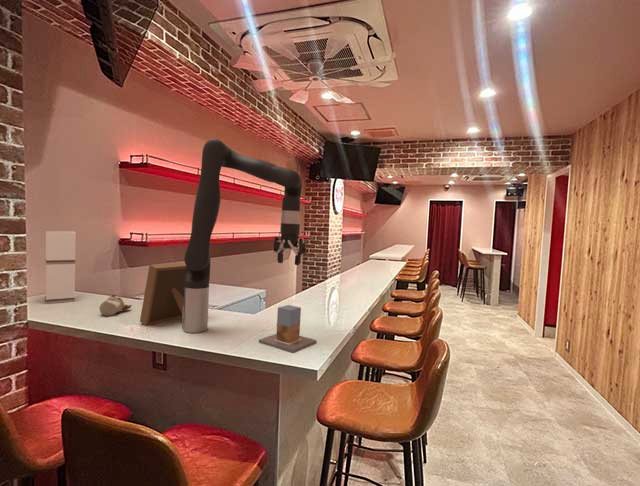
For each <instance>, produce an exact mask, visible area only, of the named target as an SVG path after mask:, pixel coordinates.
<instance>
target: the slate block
mask: <svg viewBox="0 0 640 486" xmlns="http://www.w3.org/2000/svg"><path fill="white" fill-rule="evenodd" d="M301 312H302V309H301V307H300V306H299V307H298V306H295V305H291V304H286V305H282V306H278V307H277V314H276V315H277V317H276V318H277V320H276V321H277V323H276V325H277V324H280V325H284V326H288V327H291V326H294V325H298V324H300V325H301V316H302V315H301Z"/></svg>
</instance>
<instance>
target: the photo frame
mask: <svg viewBox="0 0 640 486" xmlns="http://www.w3.org/2000/svg"><path fill="white" fill-rule="evenodd" d="M185 276H186V264H185V261H184V262H173V263H172V262H170V263H158V264H155V263H154V264H149V266H148V272H147V277H146V285H145V289H144V295H143V302H142V308H141V313H140V319H139V322H140V323H141V324H142V325H143V326H145V327H148V326H151V325H155V324H156V325H157V324H159V323H164V322H168V321H169V322H170V321H174V320H178V319H182V312H183V305H184V284H185Z"/></svg>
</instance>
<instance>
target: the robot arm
mask: <svg viewBox="0 0 640 486" xmlns="http://www.w3.org/2000/svg"><path fill="white" fill-rule="evenodd" d="M200 165H201V166H200V167H201V169H200V174H199V180H198V184H197V191H196V195H195V196H196V197H195V199H194V200H195V201H194V205H193V212H192V221H191V233H190V237H189V240H188V245H187V247H186V251H185V255H184V257H183V258H184V262H185V264H186V276H185V284H184V305H183V312H182V318H181V320H182V321H181V329H182V331H183V332H185V333H190V334H191V333H193V334H196V333H203V332H206V331H207V330H208V327H209V326H208V325H209V301H210V298H209V297H210V279H211V254H210V244H211V238H212V234H213V231H214V228H215V226H216V223H217V218H218V215H219V212H220V211H219V210H220V204H221V187H220V175H221V170H222V168H227V169H232V170H236V171H239V172H242V173H245V174H248V175H250V176H252V177H255V178H258V179H261V180H263V181H265V182H268V183H274V184H276V185H279V186H281V187H284V191H283V192H284V193H283V194H284V195H283V198H282V200H281V205H282V206H281V214H280V231H279V233H280V235H281V236H274V238H273V239H274V241H273V252H274V253H275V252H276V253H277V258H276V259H277V263H278V264H282V263H283V262H284V252H285V250H287V249H290V250H292V251H293V253H294V265H295V266H300V264H301V260H302V259H301V258H302V255H305V254H306V239H305V238H304V237H303V238H302V237H301V238H299V236H300V232H301V231H300V230H301V228H300V226H301V212H300V211H301V194H302V187H303V180H302V176H301V175H300V174H299V173H298V172H296V171H295V170H293V169H289V168H287V167H282V166H278V165H276V164H274V163H271V162H268V161H265V160H262V159H259V158H256V157H255V158H254V157H249V156H246V155H244V154H240V153H239V152H236V151H235V150H233V149H231V148H230V147H228V146H227V145H226V144H225V143H224V142H223V141H222V140H220V139H218V138H210V139H208V140H207V141H206V142H205V143H204V145H203V147H202V156H201V164H200Z"/></svg>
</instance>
